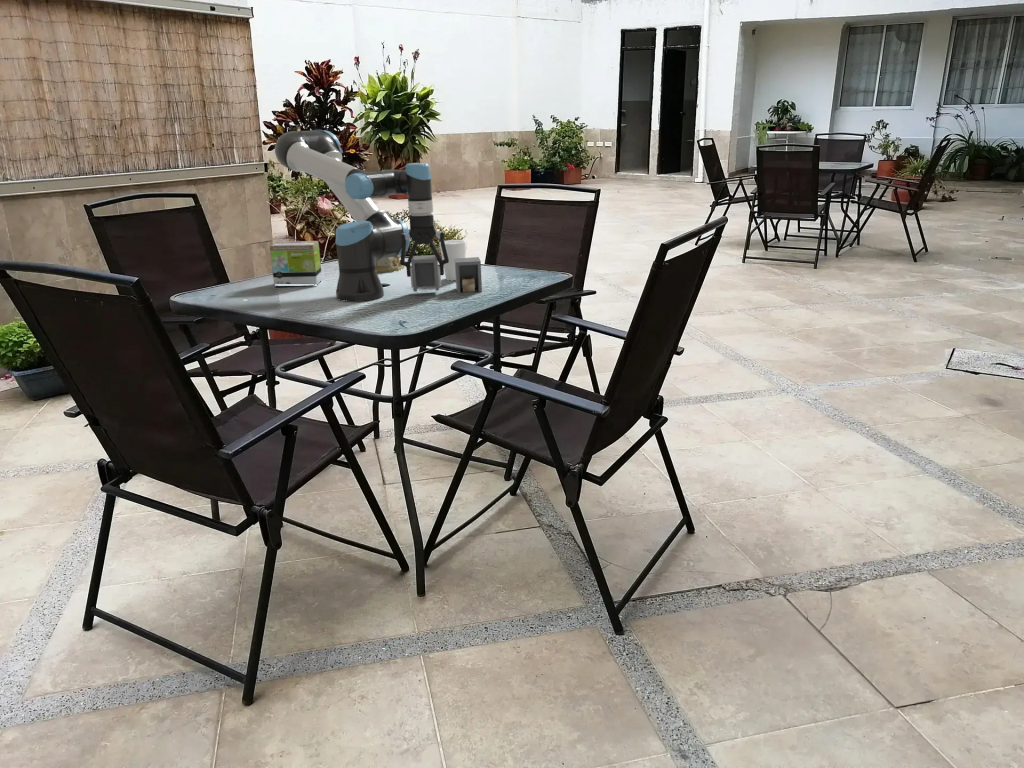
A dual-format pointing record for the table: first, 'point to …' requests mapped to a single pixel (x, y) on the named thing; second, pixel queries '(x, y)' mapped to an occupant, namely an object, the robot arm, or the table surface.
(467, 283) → the letter cube
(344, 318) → the table surface
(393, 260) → the ceramic model
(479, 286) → the far cover
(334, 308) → the table surface
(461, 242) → the foam cup
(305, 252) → the tea box
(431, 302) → the table surface
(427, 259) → the near cover
